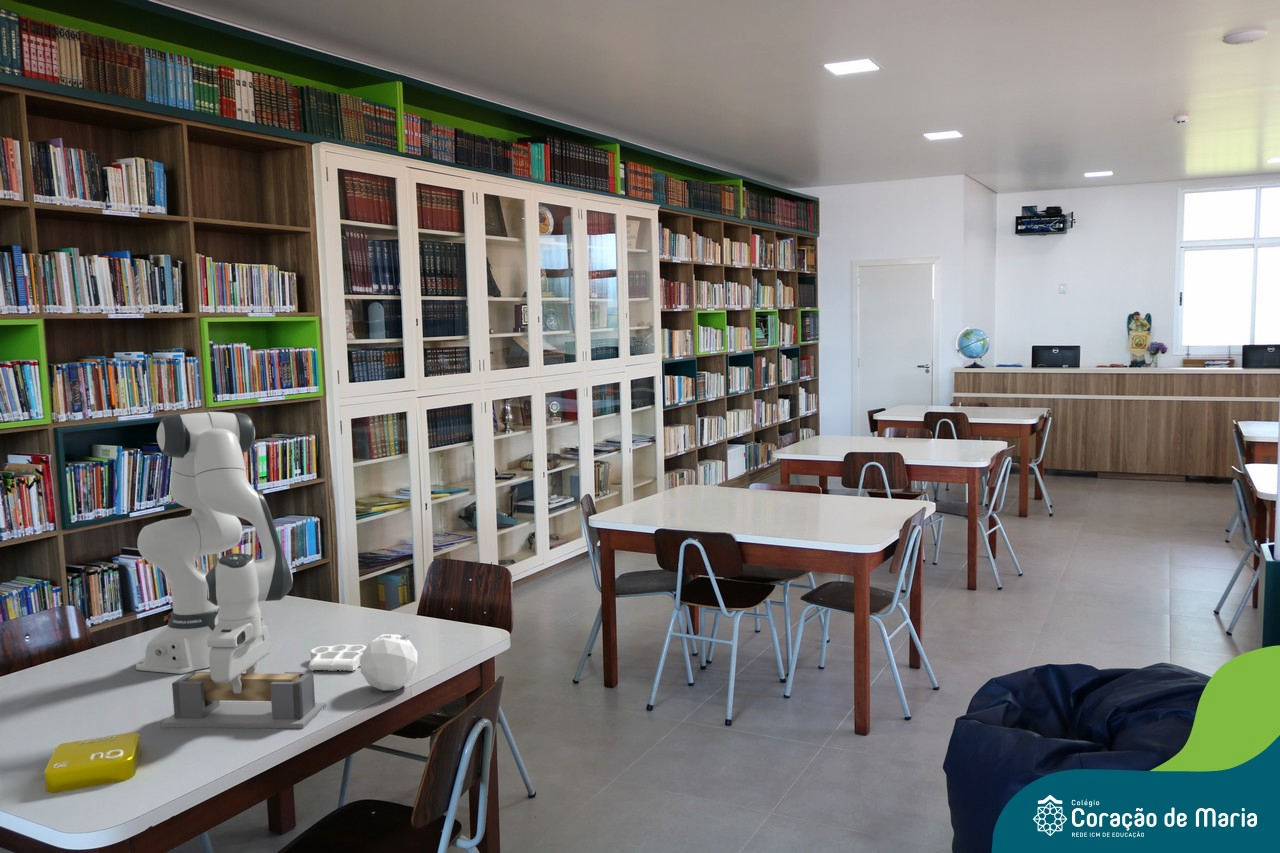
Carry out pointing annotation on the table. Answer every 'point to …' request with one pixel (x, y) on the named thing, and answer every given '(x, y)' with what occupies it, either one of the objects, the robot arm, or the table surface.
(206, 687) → the oak slat
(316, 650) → the knuckle duster
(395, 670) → the geodesic sphere
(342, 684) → the table surface
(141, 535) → the robot arm
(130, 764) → the element tile
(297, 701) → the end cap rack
